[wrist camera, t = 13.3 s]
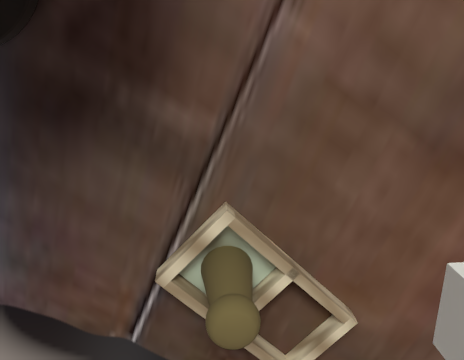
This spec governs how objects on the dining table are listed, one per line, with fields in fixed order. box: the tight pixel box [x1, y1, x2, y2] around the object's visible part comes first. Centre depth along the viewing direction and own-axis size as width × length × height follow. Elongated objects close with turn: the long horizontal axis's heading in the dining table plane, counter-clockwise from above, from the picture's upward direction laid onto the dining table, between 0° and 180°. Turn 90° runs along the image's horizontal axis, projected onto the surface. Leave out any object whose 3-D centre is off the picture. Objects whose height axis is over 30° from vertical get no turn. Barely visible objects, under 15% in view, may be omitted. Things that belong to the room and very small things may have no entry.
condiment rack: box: [155, 202, 358, 360], centre depth 47 cm, size 11×22×2 cm, turn 46°
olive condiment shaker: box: [201, 246, 261, 350], centre depth 42 cm, size 6×6×11 cm
